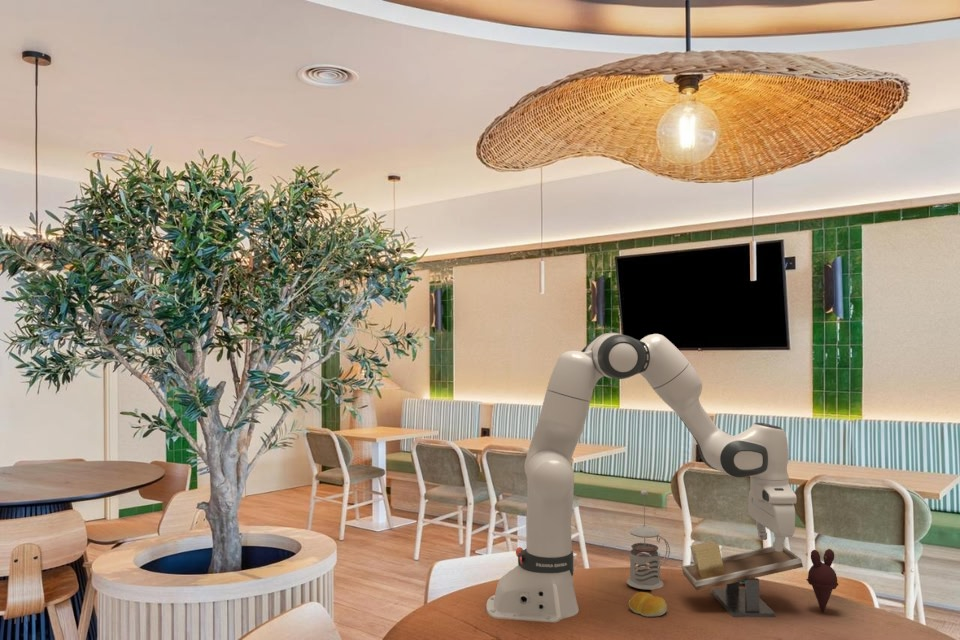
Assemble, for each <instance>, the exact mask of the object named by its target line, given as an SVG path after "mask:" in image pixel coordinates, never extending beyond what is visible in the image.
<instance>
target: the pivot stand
mask: <svg viewBox="0 0 960 640" xmlns="http://www.w3.org/2000/svg"><path fill="white" fill-rule="evenodd" d="M711 594H712V596H713V597H714V598H715V599H716V600H717V602H718V603H719V604H720V605H721V606H722V607H723V608H724V610H726V612H727V613H728V614H729V615H730V616H731V617H733V618H776V616H777V615H776V612H775V611H774V610H773V609H772V608H771V607H769V605H767V603H766V602H764V601H763V599H762V598H760V578H759V577H757V578H745V583H744V588H740V582H734V583H730V584H725V588H711Z"/></svg>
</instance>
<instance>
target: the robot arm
mask: <svg viewBox="0 0 960 640" xmlns="http://www.w3.org/2000/svg"><path fill="white" fill-rule="evenodd" d="M553 367H554V368H553V369H552V372H551V375H550V378H549V381H548V384H547V387H546V390H545V394H544V398H543V403H542V407H541V410H540V413H539V417H538V420H537V423H536V427H535V429H534V432H533V436H532V439H531V440H530V444H529V448H528V450H527V454H526V458H525V461H524V467H523V468H524V472H525V477H526V481H527V482H526V483H527V484H526V485H527V493H526V494H527V495H526V497H527V500H526V515H525V516H526V517H525V529H526V530H525V532H526V533H525V534H526V535H525V536H526V539H525V540H526V541H525V544H526V545H525V546H526V547H525V549H523V548H522V547H517V548H516V549H515V555H516V556H517V565H516V566H514V568H512V569H511V570H510V571H508V572H507V573H506V574H504V575H502V576H501V578H499V580H498V582H497V585H496V589H495V593H494V594H493V595H491V596H490V597H489V598H488V599H487V601H486V605H485V606H486V607H485V608H486V609H485V610H486V613H487V614H488V615H489V616H490V617H492V618H494V619H500V620H514V621H528V622H541V623H558V622H560V621H561V620H564V619H567V618H570V617H574V616H576V615H577V614H578V613H579V610H580V608H579V605H578V602H577V598H576V592H575V586H574V577H573V575H574V571H575V556H574V552H573V550H572V516H573V515H572V514H573V505H574V493H575V491H574V489H575V471H574V469H573V466H572V464H571V462H572V457H573V456H574V453H575V450H576V448H577V444H578V443H579V439H580V438H581V435H582V434H583V431H584V427H585V425H586V420H587V416H588V412H589V408H590V404H591V400H592V397H593V391H594V388H595V386H596V384H597V383H598V381H599V380H601V378H603V377H606V378H608V379H615V380H624V379H625V380H626V379H629V378H631V377H633V376H635V375H638V374H640V375H641V376H642V377H643V378H644V379H645V380H646V381H647V383H648V385H649V386H650V387H651V388H652V389H653V391H654V393H656V394H657V396H659V398H660V399H661V400H662V401H664V403H665V404H666V405H667V406H668V407H669V408H671V409H672V411H674V412H675V413H676V415H677V416H678V417H679V419H680V420H681V421H682V422H683V424H684V425H685V427H686V429H687V430H688V431H689V432H690V433H691V435H692V437H693V438H694V440H695V442H696V445H697V448H698V449H697V450H698V453H699V456H700V458H701V460H702V462H703V463H704V465H706V466H707V467H708V468H710V469H713V470H715V471H718V472H721V473H723V474H725V475H728V476H730V477H732V478H745V477H746V478H747V477H749V478H750V480H749V482H750V483H749V484H750V485H749V486H750V489H749V491H748V502H747V504H748V505H747V512H748V516H749V517H750V518H752V519H753V520H754V521H755V525H756V530H757V538H759V540H761V541H766V540H767V539H768V532H767V530H766V529H768V530H769V531H770V532H772V533H773V537H774V541H773V542H772V546H773V549H774V550H775V551H777V552H781V551H783V546H784V543H785V540H786V538H788V537H789V538H791V537H792V538H793V536H794V534H795V531H796V509H795V505H794V504H797V502H798V501H797V499H798V498H797V495H796V492H794V491H793V489H792V487H791V485H790V484H789V483H790V480H789V477H790V476H789V473H788V464H789V445H788V437H787V434H786V432H785V430H784V429H783V428H782V427H780V426H778V425H773V424H770V423H764V422H754V423H753V424H751V426H750V427H748V428H747V429H746V430H744V431H742V432H739V433H737V434H735V435H732V434H729V433H727V432H726V431H724V430H722V429H720V428H719V427H718V426H717V425H716V424H715V422H714V421H713V420H712V419H711V417H710V415H709V414H708V413H707V411H706V410H705V408H704V407H703V405H702V404H701V401H700V396H701V394H702V391H703V383H702V380H701V378H700V376H699V374H698V372H697V371H696V369H695V367H694V366H693V365H692V363H691V362H690V361H689V360H688V359H687V357H686V356H685V355H684V354H683V353H682V352H681V351H680V350H679V348H677V346H675V344H674V343H672V341H670V340H669V339H668V338H667V337H666V336H664V335H663V334H659V333H653V334H647V335H645V336H644V337H643V338H641V339H640V340H639V339H636V338H634V337H633V336H630V335H626V334H622V333H619V332H607V333H600V334H598V335H596V336H595V337H593V338H592V339H591V340H590V342H588V344H587V345H586V346H584V348H583V349H582V350H581V351H580V350H568V351H565V352H563V353H561V354H560V355H559V357H558V359H557V360H556V363H555V365H554V366H553Z"/></svg>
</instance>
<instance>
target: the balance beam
mask: <svg viewBox="0 0 960 640" xmlns="http://www.w3.org/2000/svg"><path fill="white" fill-rule="evenodd" d="M721 557H722V556H721ZM722 562H723V566H724V570H725V574H721V575H717V576H712V577H708V578H703V579H701V578H700V577H699V576H698V574H697V573H696V569H695V565H694V563H692V564H688V565H682V566H681V569H682V574H683V576H684V577H685V578H686V579H687V580H688V582H689V583H690V584H691V586H693V588H694V589H695V590H696V591H697V592H698V591H702V590H707V589H713V588H715V587H716V588H717V587H721V586H726V584H730V583H734V582H739V581H743V580H745V578H761V577H765V576H770V575H773V574H778V573H783V572H787V571H792V570H797V569H800V568H804V565H803V561H802V558H800V557H799V556H798V555H796V554H795V553H793V552H792V551H791V550H790V549H788V548H787V547H785V546H784V545H783V551H781V552H777V551H775V550H774V549H773V545H772V546H767V547H763V548H759V549H753V550H750V551H745V552H741V553H736V554H731V555H727V556H723V557H722ZM739 583H740V582H739Z"/></svg>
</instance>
